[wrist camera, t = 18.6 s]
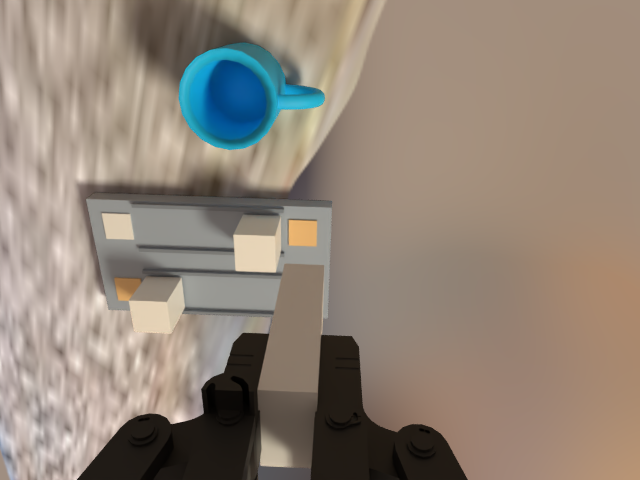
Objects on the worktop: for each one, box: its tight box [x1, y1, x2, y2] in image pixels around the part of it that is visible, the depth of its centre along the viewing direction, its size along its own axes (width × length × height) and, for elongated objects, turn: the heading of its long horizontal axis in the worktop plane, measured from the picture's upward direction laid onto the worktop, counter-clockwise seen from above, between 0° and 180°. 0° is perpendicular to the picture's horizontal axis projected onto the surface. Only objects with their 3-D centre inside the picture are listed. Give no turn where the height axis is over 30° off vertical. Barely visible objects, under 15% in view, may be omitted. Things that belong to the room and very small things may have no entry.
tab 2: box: [233, 215, 281, 273], centre depth 48 cm, size 4×4×5 cm
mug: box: [179, 42, 325, 150], centre depth 42 cm, size 12×8×8 cm
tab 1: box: [129, 276, 185, 333], centre depth 52 cm, size 4×4×5 cm
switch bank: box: [86, 193, 332, 318], centre depth 53 cm, size 14×26×2 cm, turn 89°
